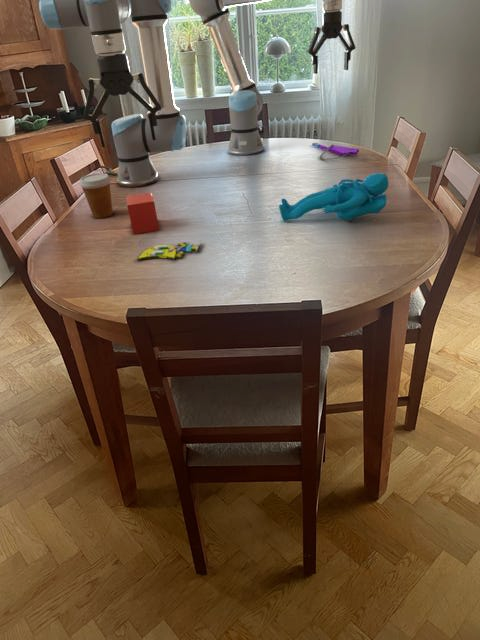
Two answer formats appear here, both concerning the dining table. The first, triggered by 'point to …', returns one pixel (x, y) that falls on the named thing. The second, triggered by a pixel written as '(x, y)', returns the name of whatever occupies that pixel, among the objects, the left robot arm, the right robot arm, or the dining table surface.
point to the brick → (142, 213)
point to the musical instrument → (337, 150)
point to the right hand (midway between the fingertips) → (330, 71)
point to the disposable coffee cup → (98, 194)
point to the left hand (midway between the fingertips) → (129, 142)
